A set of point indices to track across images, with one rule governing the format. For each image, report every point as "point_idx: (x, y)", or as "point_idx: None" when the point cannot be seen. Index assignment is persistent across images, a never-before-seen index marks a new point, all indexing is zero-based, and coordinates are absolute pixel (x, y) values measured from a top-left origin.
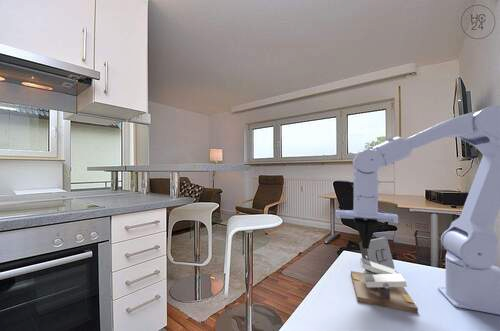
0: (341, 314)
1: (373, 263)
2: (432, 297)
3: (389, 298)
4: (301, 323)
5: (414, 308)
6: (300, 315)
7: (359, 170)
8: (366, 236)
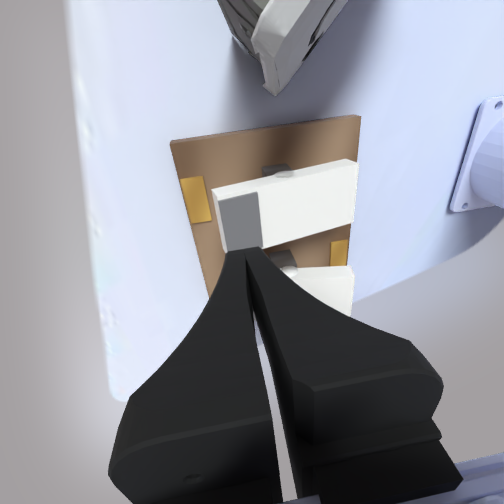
0: None
1: (275, 201)
2: (420, 180)
3: None
4: (127, 399)
5: None
6: (115, 388)
7: None
8: (267, 347)
